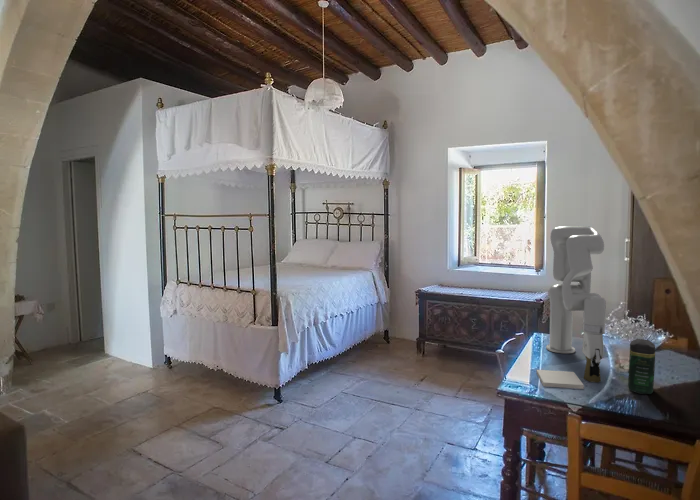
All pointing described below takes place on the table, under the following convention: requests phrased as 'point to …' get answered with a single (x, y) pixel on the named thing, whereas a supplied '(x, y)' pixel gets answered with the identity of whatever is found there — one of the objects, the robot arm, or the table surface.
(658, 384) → the table surface
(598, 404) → the table surface
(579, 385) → the tile
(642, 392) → the coffee jar
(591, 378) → the cork
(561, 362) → the table surface
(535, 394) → the table surface
